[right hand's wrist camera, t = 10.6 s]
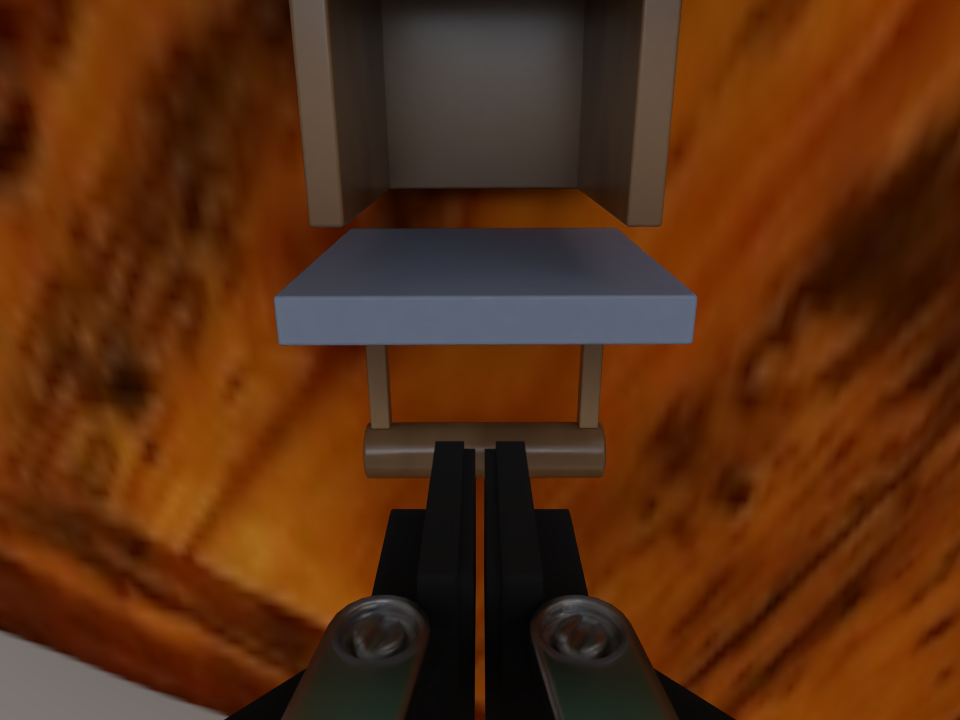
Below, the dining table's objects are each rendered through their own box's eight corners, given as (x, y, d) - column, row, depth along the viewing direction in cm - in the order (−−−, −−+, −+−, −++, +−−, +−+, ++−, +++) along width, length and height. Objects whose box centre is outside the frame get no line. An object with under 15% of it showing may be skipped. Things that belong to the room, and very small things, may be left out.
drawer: (604, 411, 27) (668, 563, 18) (362, 412, 27) (302, 564, 18) (650, -260, 19) (799, -588, 10) (315, -259, 19) (171, -585, 10)
